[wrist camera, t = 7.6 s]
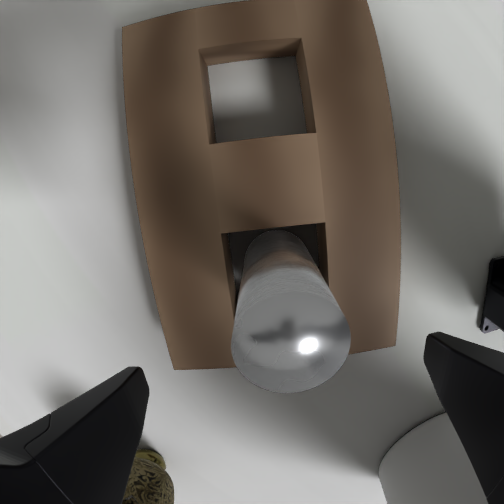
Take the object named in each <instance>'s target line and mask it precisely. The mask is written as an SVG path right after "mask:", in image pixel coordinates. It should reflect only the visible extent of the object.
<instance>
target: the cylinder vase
mask: <svg viewBox="0 0 504 504" xmlns="http://www.w3.org/2000/svg"><path fill="white" fill-rule="evenodd" d="M379 479H380V482H381V485H382V488H383V491H384V494H385V498H386V501H387V504H488V502H487V500H486V497H485V494H484V492H483V489H482V487H481V485H480V482H479V480H478V478H477V475H476V473H475V471H474V469H473V466H472V464H471V462H470V460H469V458H468V456H467V453H466V451H465V449H464V447H463V445H462V443H461V441H460V439H459V437H458V435H457V433H456V431H455V429H454V427H453V425H452V423H451V421H450V419H449V417H448V415H447V413H443V414H441V415H438V416H436V417H433V418H431V419H429V420H427V421H426V422H424V423H422V424H420V425H419V426H417V427H416V428H414V429H413V430H411V431H410V432H408V433H407V434H406V435H404V436H403V437H402V438H401V439H400V440H398V441H397V442H396V443H395V444H394V445H393V446H392V447H391V449H390V450H389V451H388V452H387V453H386V455H385V456H384V458H383V460H382V462H381V464H380V467H379Z"/></svg>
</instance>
